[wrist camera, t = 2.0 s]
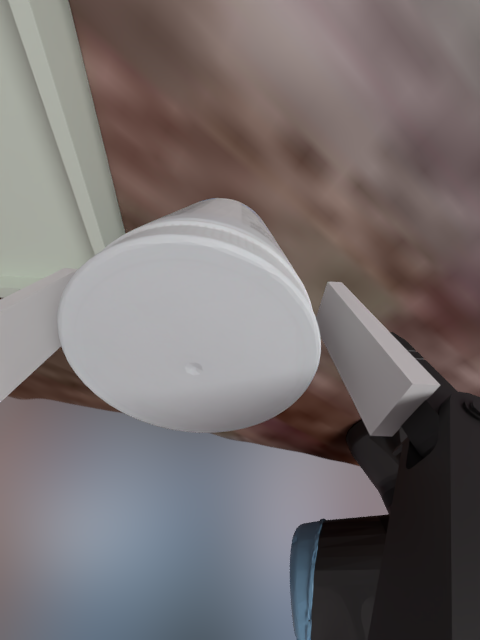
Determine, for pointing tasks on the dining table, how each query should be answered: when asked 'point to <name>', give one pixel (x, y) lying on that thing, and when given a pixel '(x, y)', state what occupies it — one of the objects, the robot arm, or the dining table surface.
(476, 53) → the dining table surface
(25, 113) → the tray
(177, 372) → the supplement tub
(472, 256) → the dining table surface
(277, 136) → the dining table surface
